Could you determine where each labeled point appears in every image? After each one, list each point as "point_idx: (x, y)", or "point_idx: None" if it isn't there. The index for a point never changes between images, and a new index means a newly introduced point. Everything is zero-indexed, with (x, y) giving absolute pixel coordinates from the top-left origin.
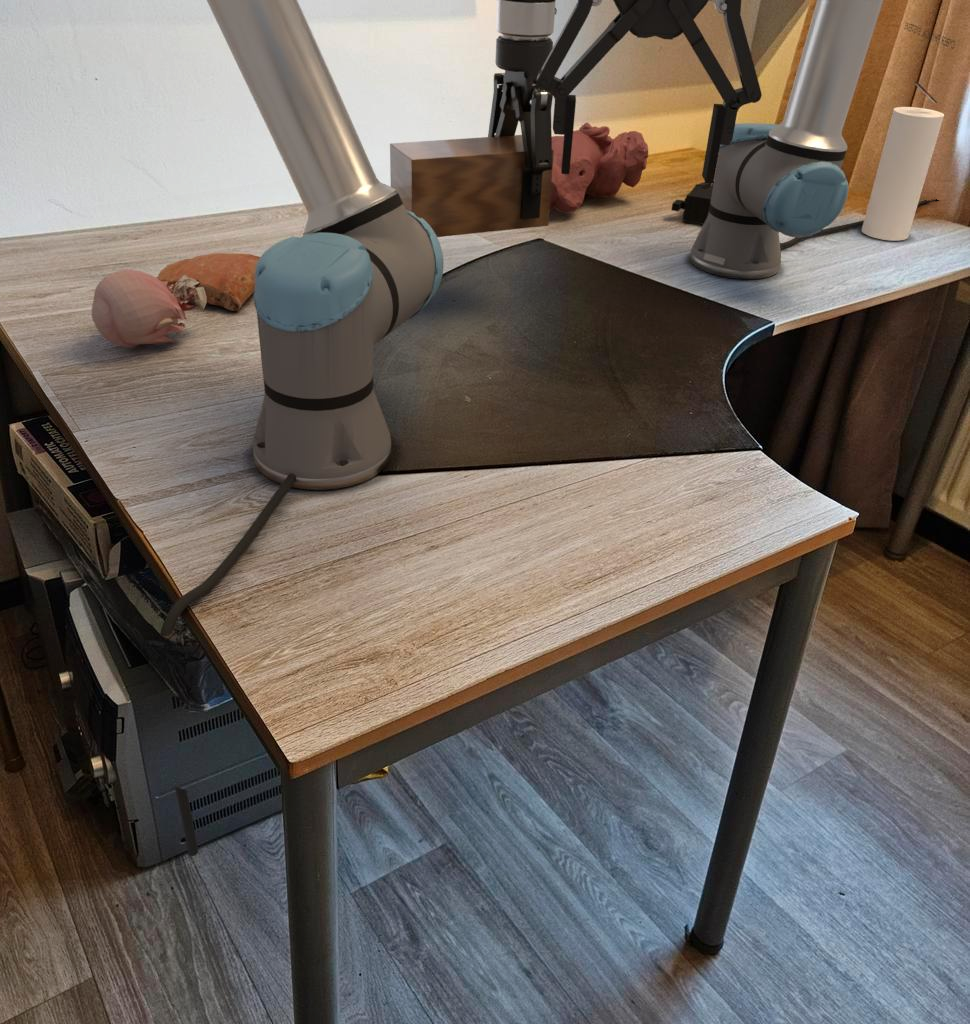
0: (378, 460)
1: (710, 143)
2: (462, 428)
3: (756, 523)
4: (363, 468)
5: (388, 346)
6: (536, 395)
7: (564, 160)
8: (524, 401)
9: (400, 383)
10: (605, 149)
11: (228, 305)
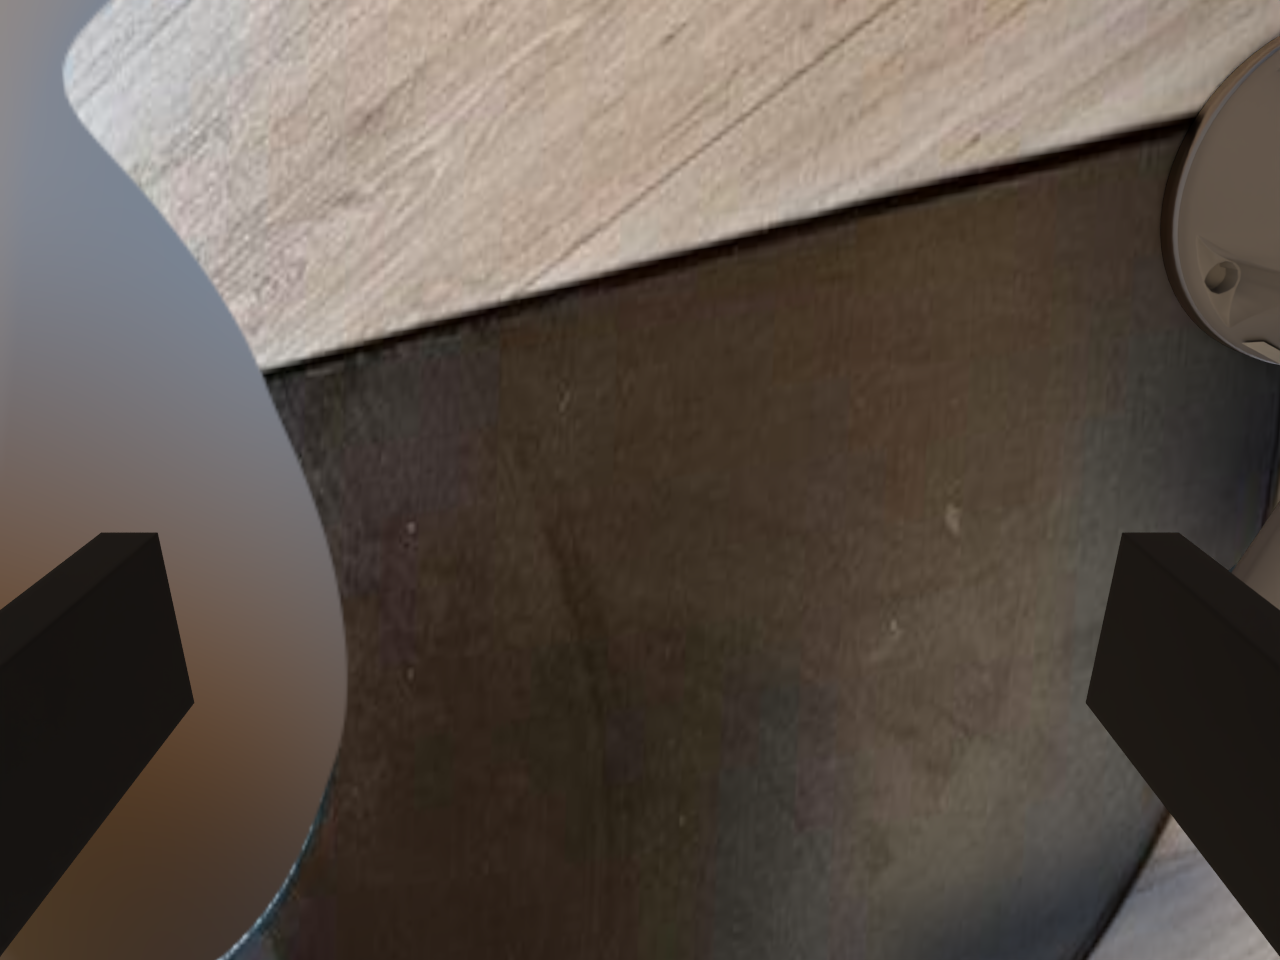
0: (1219, 116)
1: (12, 748)
2: (972, 375)
3: (257, 14)
4: (1263, 66)
5: None
6: (783, 559)
7: (1219, 574)
8: (814, 526)
9: None
10: None
11: None
